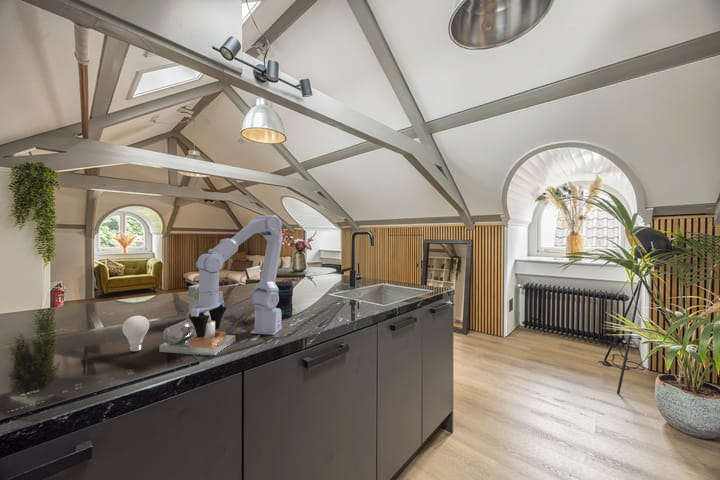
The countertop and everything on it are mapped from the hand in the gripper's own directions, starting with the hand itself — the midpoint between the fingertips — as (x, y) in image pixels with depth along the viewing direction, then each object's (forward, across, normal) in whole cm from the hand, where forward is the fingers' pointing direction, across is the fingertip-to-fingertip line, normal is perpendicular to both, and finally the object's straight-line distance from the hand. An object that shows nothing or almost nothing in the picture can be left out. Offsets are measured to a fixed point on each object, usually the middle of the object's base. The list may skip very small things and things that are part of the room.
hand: (208, 332), depth 95 cm
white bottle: (+3, 0, 0) cm, 3 cm away
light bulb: (+5, +7, -19) cm, 21 cm away
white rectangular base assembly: (+5, 0, -3) cm, 5 cm away
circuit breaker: (+5, -28, -19) cm, 34 cm away
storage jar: (+5, -38, +10) cm, 40 cm away
